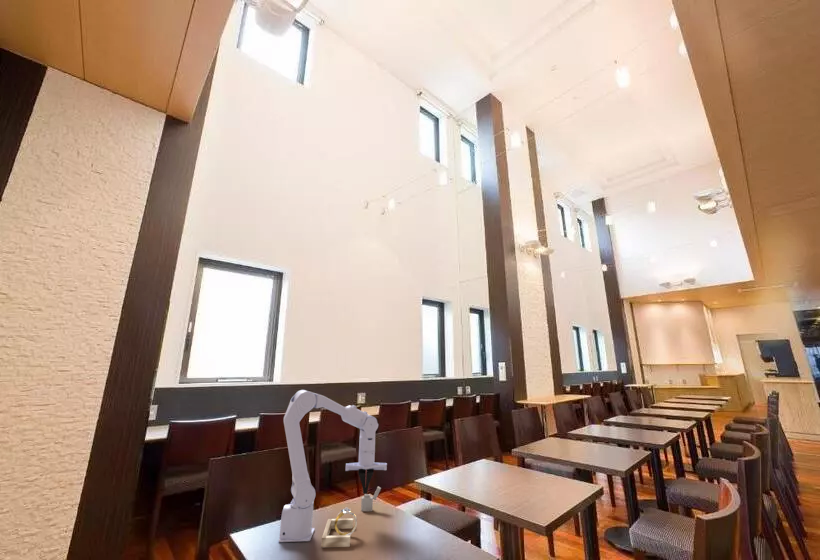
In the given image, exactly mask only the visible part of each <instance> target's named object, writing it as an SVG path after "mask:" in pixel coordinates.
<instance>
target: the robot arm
mask: <svg viewBox="0 0 820 560" xmlns="http://www.w3.org/2000/svg"><path fill="white" fill-rule="evenodd" d="M320 408H323V409H326V410H328V411H330V412H333V413H335V414H338V415H339V416H340V417H341V420H342V421H343V422H344V423H346V424H349V425H350V426H353V427H356V428H357V429H359V439H358V440H359V441H358V442H359V446H358V462H349V463H345V472H349V471H358V477H359V479H360V483H361V485H362V494H364V495H365V494H368V489H369V486H370V484H371V483H370V482H371V480H372V478H373V475H374V471H387V468H388V467H387V466H388V463H387V462H375V457H376V456H375V455H376V454H375V453H376V431H377V430H378V428H379V423H378V419H377V417H375V416H373V415H371V414H369V413H368V412H367V411H363V410H361V409H358V408H357V406H356V405H354V404H352V405H350V404H349V405H347V406H344V405H341V404H340V403H338V402H337V401H335V400H332V399H331V398H328V397H327V396H325V395H322V394H320V393H315V392H312V391H309V390H306V389H300V390H298V391H296V393H295V394H293V396H292V397H291V399H290V401H289V403H288V406H287V409H286V411H285V413H284V416H283V426H284V432H285V437H286V438H285V439H286V443H287V449H288V450H287V451H288V456H289V461H290V468H291V474H292V477H291V479H292V482H291V483H292V484H291V488H290V492H291V495H292V497H293V498H292V500H291V501H290V503H288V504H285V505H283V509H282V511H281V517H280V528H279V537H278V538H279V539H278V542H279V543H288V542H290V543H292V542H295V543H296V542H310V541H311V540H312V537H313V534H314V532H315V529H316V528H315V527H313V517H314V516H313V515H314V504H315V503H314V501H315V498H316V495H317V494H316V489H315V487H314V486H313V485H312V483H311V479H310V475H309V471H308V466H307V461H306V455H305V448H304V442H303V438H302V437H303V436H302V431H301V427H300V426H301V425H300V422H301V420H302V419H303V418H304V416H305V415H307V414H308V413H309V412H310V411H311V410H313V409H320Z"/></svg>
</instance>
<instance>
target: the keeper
mask: <svg viewBox="0 0 820 560" xmlns="http://www.w3.org/2000/svg"><path fill="white" fill-rule="evenodd" d="M335 520H336V518H328V519H327V521H326V524H325V528H324V530H323V534H322V536H321V543H320V544H321V545H320V547H321V548H349V547H351V535H339V534H338V535H330V533H331V530H335ZM337 527H338V529H339V530H341V529H342V530H343V529H348V530H349V529H353V528H354V517H351V518H347V517H346V518H339V519H338V521H337Z"/></svg>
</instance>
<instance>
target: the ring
mask: <svg viewBox="0 0 820 560" xmlns="http://www.w3.org/2000/svg"><path fill="white" fill-rule="evenodd" d="M347 514H348V515H351V516H352V518H353V521H354V524H353V528H351V530H350V531H349V532H346V531H345V532H342V531H341V529H338V527H337V521H338V519H341V518H342V517H344V515H347ZM335 519H336V520H335V529H334V530H335V531H336V533H337V534H338V535H350V536H351V535H352V534H353V533H355V530H356V528H357V524H358V517H357V515H356V513H355V512H354V511H352V508H351V507H350V508H349V507H348V506H346V507H344V508H340V511H339V512H338V514H336V517H335Z"/></svg>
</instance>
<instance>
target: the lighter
mask: <svg viewBox="0 0 820 560" xmlns="http://www.w3.org/2000/svg"><path fill="white" fill-rule="evenodd" d="M381 489H382V487H380V486H377V487H376V490H375V491H374V493H373V496H371V494H370V493H369V494H368V493H367V494H364V495H363V496H361V505H360V506H361V507H360V512H373V506H374V504H373V502H374V500H375V501H376V500H377V498H378V495H379V494H380V492H381Z"/></svg>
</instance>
